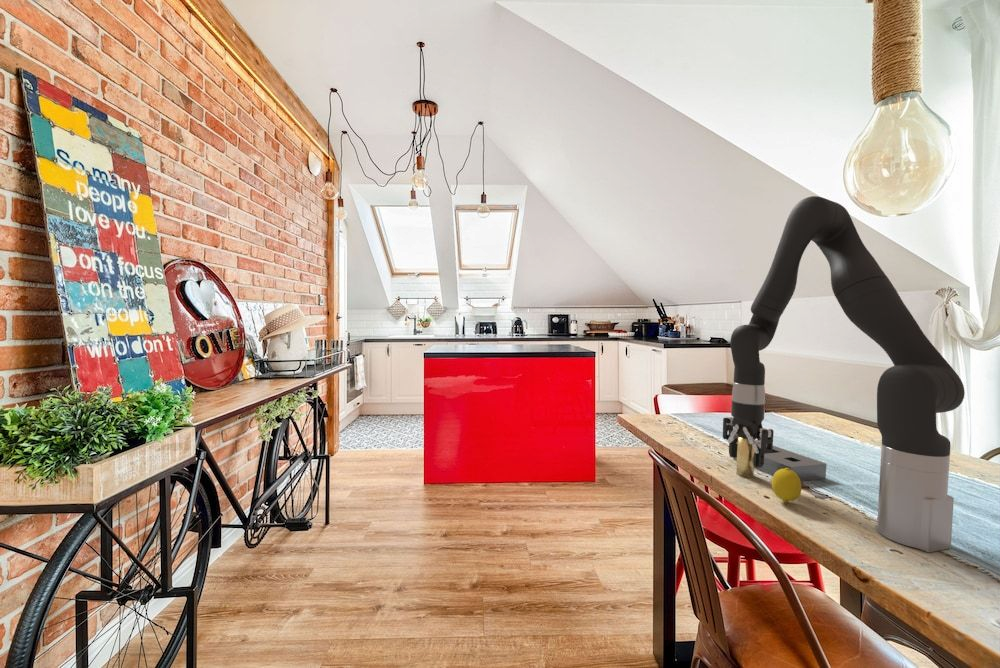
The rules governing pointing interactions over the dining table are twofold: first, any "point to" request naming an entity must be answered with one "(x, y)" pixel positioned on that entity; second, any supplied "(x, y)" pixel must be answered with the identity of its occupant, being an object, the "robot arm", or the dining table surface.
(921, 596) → the dining table surface
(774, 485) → the lemon
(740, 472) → the gold metal block
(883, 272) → the robot arm
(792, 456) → the plate
